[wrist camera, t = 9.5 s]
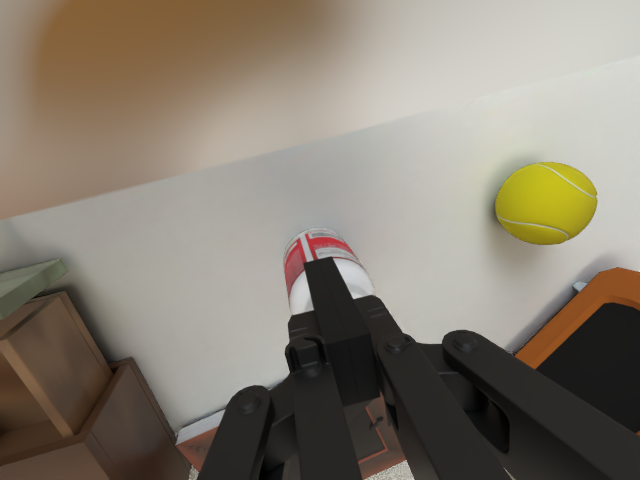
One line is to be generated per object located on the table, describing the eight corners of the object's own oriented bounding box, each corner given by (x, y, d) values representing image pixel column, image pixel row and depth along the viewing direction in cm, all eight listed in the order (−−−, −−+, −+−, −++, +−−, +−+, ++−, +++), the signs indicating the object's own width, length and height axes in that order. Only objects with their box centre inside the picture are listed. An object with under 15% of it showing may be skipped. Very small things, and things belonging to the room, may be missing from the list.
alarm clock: (598, 253, 35) (863, 355, 20) (635, 293, 38) (891, 409, 22) (451, 399, 39) (574, 580, 24) (495, 425, 42) (630, 601, 26)
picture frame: (366, 341, 34) (180, 425, 34) (374, 357, 32) (174, 447, 32) (409, 437, 40) (251, 509, 40) (418, 456, 38) (251, 533, 38)
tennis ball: (506, 146, 29) (575, 152, 23) (559, 176, 31) (637, 189, 25) (466, 215, 31) (520, 239, 24) (519, 239, 33) (582, 267, 26)
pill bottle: (301, 297, 31) (319, 382, 21) (270, 246, 29) (273, 313, 19) (358, 268, 31) (404, 339, 21) (332, 214, 29) (369, 263, 18)
